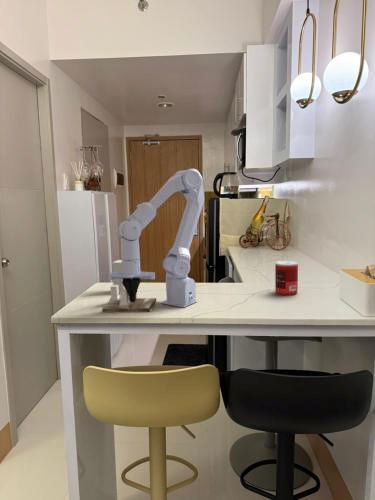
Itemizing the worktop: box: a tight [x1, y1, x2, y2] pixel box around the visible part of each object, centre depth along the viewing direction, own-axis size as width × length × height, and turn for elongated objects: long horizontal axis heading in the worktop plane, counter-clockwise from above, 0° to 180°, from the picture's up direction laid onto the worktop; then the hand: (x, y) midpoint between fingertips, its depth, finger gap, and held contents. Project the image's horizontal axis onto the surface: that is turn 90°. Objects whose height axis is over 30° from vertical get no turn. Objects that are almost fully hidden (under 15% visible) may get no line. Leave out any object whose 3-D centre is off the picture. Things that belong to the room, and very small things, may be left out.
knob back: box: [109, 284, 120, 300], centre depth 124 cm, size 3×3×5 cm
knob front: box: [119, 289, 130, 306], centre depth 117 cm, size 3×3×5 cm
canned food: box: [274, 260, 299, 296], centre depth 131 cm, size 8×8×11 cm
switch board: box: [102, 295, 157, 313], centre depth 121 cm, size 15×12×2 cm
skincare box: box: [111, 259, 125, 295], centre depth 139 cm, size 6×4×12 cm
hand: (132, 301), depth 117 cm, fingers closed
